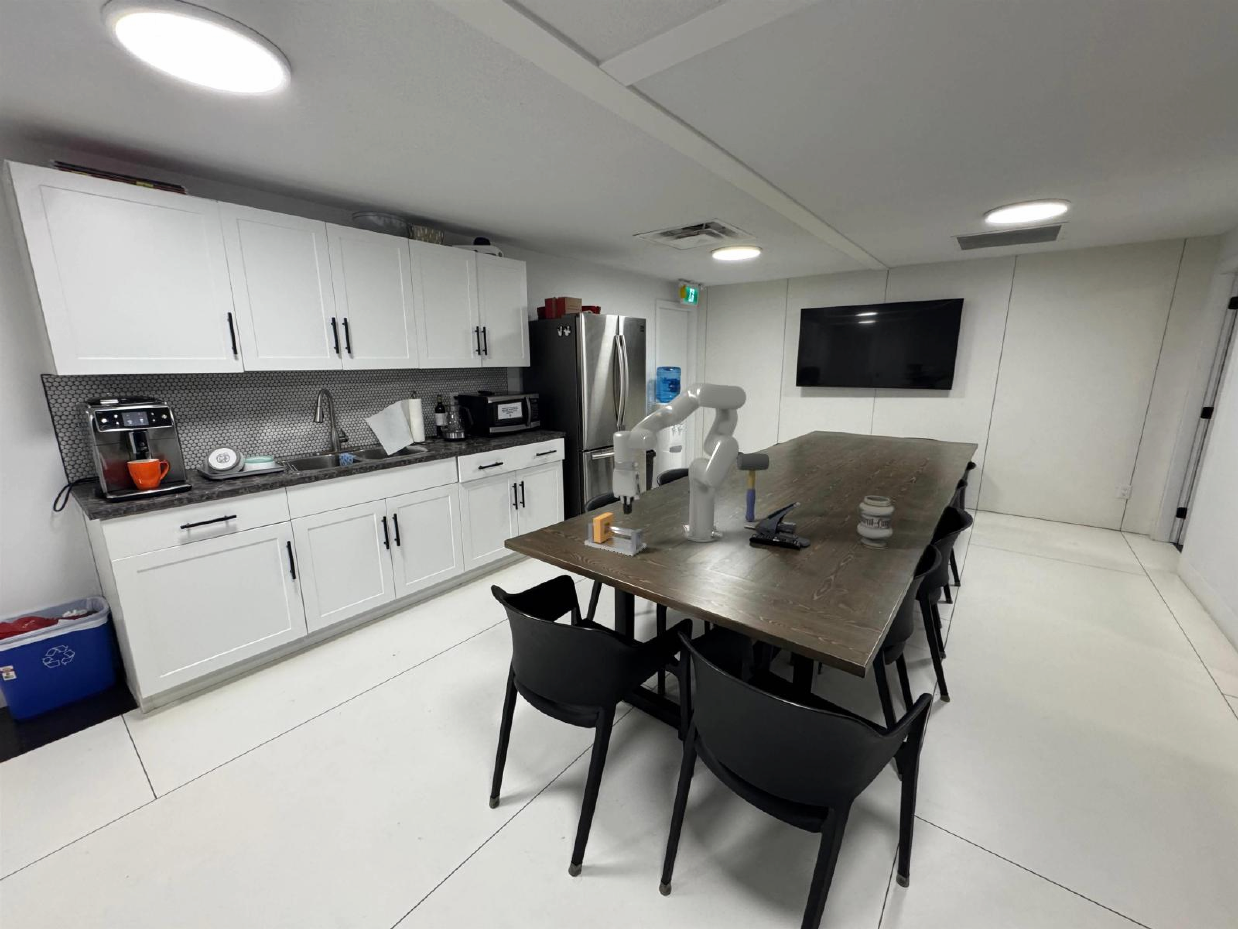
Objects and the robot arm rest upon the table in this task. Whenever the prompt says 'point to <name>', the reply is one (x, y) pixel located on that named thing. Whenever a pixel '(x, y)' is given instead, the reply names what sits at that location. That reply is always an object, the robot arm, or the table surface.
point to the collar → (599, 527)
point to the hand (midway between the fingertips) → (627, 513)
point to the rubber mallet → (752, 477)
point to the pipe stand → (618, 540)
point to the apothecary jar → (875, 521)
